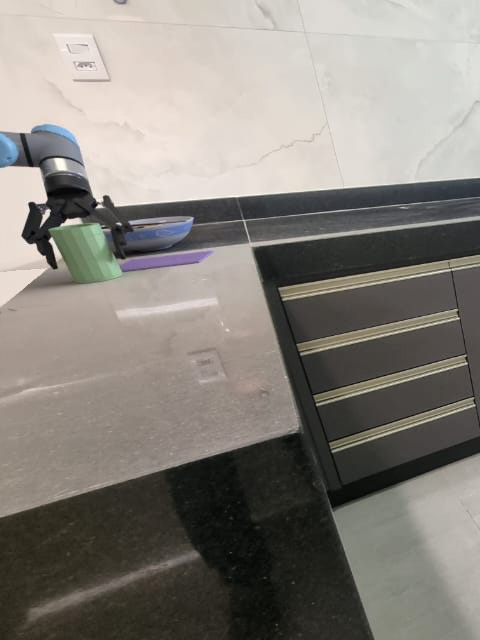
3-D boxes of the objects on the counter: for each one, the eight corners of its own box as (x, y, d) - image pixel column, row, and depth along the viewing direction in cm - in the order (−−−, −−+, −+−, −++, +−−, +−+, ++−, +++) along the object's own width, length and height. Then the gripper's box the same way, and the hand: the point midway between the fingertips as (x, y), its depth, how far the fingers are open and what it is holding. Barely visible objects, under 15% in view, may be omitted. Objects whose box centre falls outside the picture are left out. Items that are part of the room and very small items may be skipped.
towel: (109, 273, 127) (108, 271, 127) (131, 261, 139) (131, 259, 138) (199, 262, 133) (198, 261, 133) (213, 251, 145) (213, 250, 145)
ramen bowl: (219, 237, 166) (209, 210, 163) (188, 252, 146) (176, 222, 143) (123, 246, 159) (111, 218, 156) (77, 263, 140) (62, 232, 136)
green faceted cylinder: (68, 285, 118) (40, 231, 113) (85, 277, 125) (59, 225, 120) (114, 279, 121) (89, 226, 116) (128, 271, 128) (105, 221, 123)
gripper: (137, 189, 133) (159, 260, 128) (5, 201, 121) (24, 280, 116) (125, 168, 127) (148, 242, 122) (-15, 178, 114) (4, 260, 110)
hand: (88, 260), depth 119 cm, fingers open, 11 cm apart
